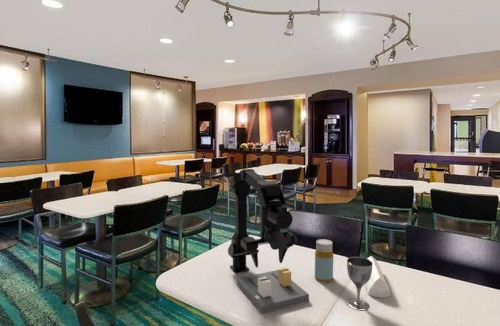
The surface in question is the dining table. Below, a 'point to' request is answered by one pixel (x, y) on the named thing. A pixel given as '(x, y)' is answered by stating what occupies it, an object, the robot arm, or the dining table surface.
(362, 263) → the wine glass
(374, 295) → the crystal
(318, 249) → the bottle
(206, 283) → the dining table surface
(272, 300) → the console
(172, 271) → the dining table surface
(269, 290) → the fader
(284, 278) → the block
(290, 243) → the robot arm
